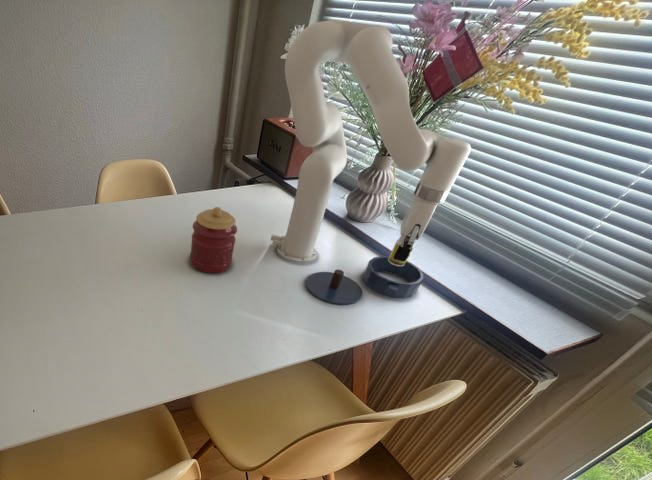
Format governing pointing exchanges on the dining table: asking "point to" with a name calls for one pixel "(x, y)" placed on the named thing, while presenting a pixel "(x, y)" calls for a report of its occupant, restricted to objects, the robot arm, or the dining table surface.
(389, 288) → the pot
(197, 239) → the kitchen canister
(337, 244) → the dining table surface
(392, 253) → the supplement bottle
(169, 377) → the dining table surface
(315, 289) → the pot lid
